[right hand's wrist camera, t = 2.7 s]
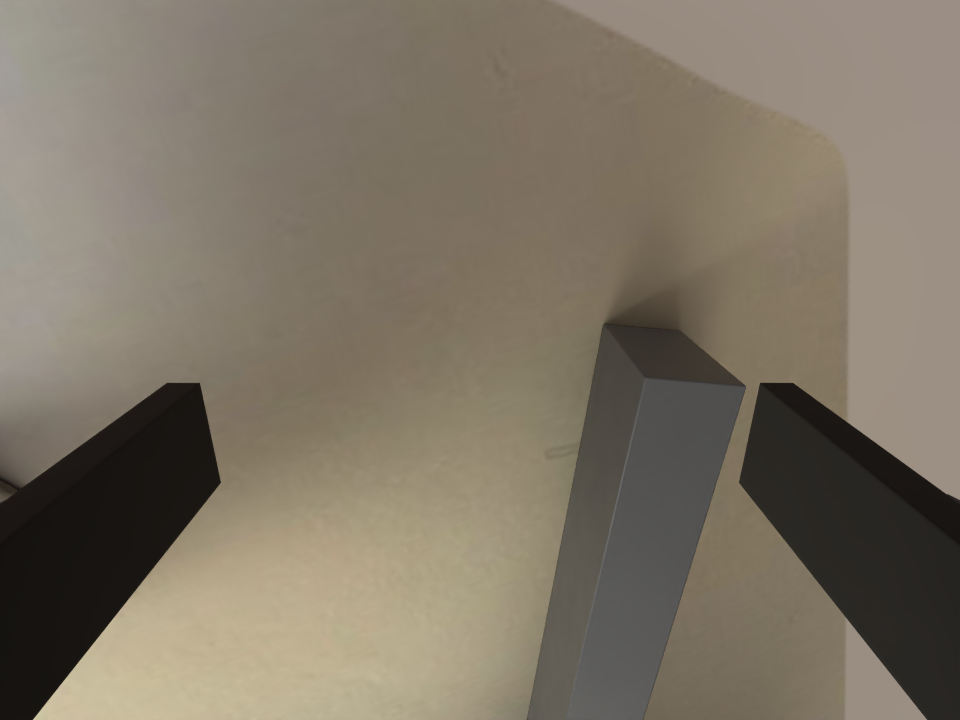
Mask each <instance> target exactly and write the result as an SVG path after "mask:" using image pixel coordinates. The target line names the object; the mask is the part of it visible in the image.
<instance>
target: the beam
mask: <svg viewBox="0 0 960 720" xmlns="http://www.w3.org/2000/svg"><path fill="white" fill-rule="evenodd" d="M745 389H746V386H745V385H744V384H743V383H742V382H740V381H739V380H738V379H737V378H736V377H734V376H733V375H732V374H731V373H730V372H729V371H727V370H726V369H725V368H724V367H723V366H721V365H720V364H719V363H718V362H717V361H715V360H714V359H713V358H712V357H711V356H710V355H708V354H707V353H706V352H705V351H704V350H702V349H701V348H700V347H699V346H698V345H696V344H695V343H694V342H693V341H692V340H691V339H689V338H688V337H687V336H686V335H685V334H683V333H682V332H681V331H675V330H665V329H654V328H643V327H633V326H622V325H612V324H604V325H603V330H602V335H601V340H600V345H599V351H598V356H597V361H596V366H595V371H594V376H593V382H592V387H591V392H590V397H589V402H588V407H587V413H586V418H585V423H584V428H583V433H582V438H581V444H580V449H579V454H578V459H577V464H576V469H575V475H574V480H573V485H572V490H571V495H570V500H569V506H568V511H567V516H566V521H565V526H564V531H563V537H562V542H561V547H560V552H559V557H558V562H557V568H556V573H555V578H554V583H553V588H552V593H551V599H550V604H549V609H548V614H547V619H546V624H545V630H544V635H543V640H542V645H541V650H540V655H539V661H538V666H537V671H536V676H535V681H534V686H533V692H532V697H531V702H530V707H529V712H528V717H527V720H643V719H644V715H645V712H646V709H647V706H648V703H649V699H650V696H651V693H652V690H653V686H654V683H655V680H656V677H657V673H658V670H659V667H660V664H661V661H662V657H663V654H664V651H665V648H666V644H667V641H668V638H669V635H670V631H671V628H672V625H673V622H674V618H675V615H676V612H677V609H678V606H679V602H680V599H681V596H682V593H683V589H684V586H685V583H686V580H687V576H688V573H689V570H690V567H691V564H692V560H693V557H694V554H695V551H696V547H697V544H698V541H699V538H700V534H701V531H702V528H703V525H704V522H705V518H706V515H707V512H708V509H709V505H710V502H711V499H712V496H713V492H714V489H715V486H716V483H717V479H718V476H719V473H720V470H721V467H722V463H723V460H724V457H725V454H726V450H727V447H728V444H729V441H730V437H731V434H732V431H733V428H734V425H735V421H736V418H737V415H738V412H739V408H740V405H741V402H742V399H743V395H744V392H745Z"/></svg>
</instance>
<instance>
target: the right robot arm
mask: <svg viewBox="0 0 960 720" xmlns="http://www.w3.org/2000/svg"><path fill="white" fill-rule="evenodd" d="M220 483H221V481H220V476H219V472H218V467H217V462H216V457H215V453H214V448H213V443H212V438H211V434H210V429H209V424H208V419H207V415H206V410H205V405H204V400H203V396H202V391H201V386H200V383H166V384H165V385H164V386H162V387H161V388H160V389H158V390H157V391H155V392H154V393H153V394H151V395H150V396H148V397H147V398H146V399H144V400H143V401H142V402H140V403H139V404H137V405H136V406H135V407H133V408H132V409H131V410H129V411H128V412H126V413H125V414H124V415H122V416H121V417H120V418H118V419H117V420H115V421H114V422H113V423H111V424H110V425H108V426H107V427H106V428H104V429H103V430H102V431H100V432H99V433H97V434H96V435H95V436H93V437H92V438H91V439H89V440H88V441H86V442H85V443H84V444H82V445H81V446H80V447H78V448H77V449H75V450H74V451H73V452H71V453H70V454H68V455H67V456H66V457H64V458H63V459H62V460H60V461H59V462H57V463H56V464H55V465H53V466H52V467H51V468H49V469H48V470H46V471H45V472H44V473H42V474H41V475H40V476H38V477H37V478H35V479H34V480H33V481H31V482H30V483H28V484H27V485H26V486H24V487H23V488H22V489H20V490H19V491H18V490H17V489H15V488H13V487H12V486H10V485H8V484H6V483H4V482H2V481H0V720H33V719H34V718H35V716H36V715H37V714H38V713H39V711H40V710H41V709H42V708H43V706H44V705H45V704H46V702H47V701H48V700H49V699H50V697H51V696H52V695H53V694H54V692H55V691H56V690H57V689H58V687H59V686H60V685H61V684H62V682H63V681H64V680H65V679H66V677H67V676H68V675H69V673H70V672H71V671H72V670H73V668H74V667H75V666H76V665H77V663H78V662H79V661H80V660H81V658H82V657H83V656H84V655H85V653H86V652H87V651H88V650H89V648H90V647H91V646H92V645H93V643H94V642H95V641H96V639H97V638H98V637H99V636H100V634H101V633H102V632H103V631H104V629H105V628H106V627H107V626H108V624H109V623H110V622H111V621H112V619H113V618H114V617H115V616H116V614H117V613H118V612H119V610H120V609H121V608H122V607H123V605H124V604H125V603H126V602H127V600H128V599H129V598H130V597H131V595H132V594H133V593H134V592H135V590H136V589H137V588H138V587H139V585H140V584H141V583H142V581H143V580H144V579H145V578H146V576H147V575H148V574H149V573H150V571H151V570H152V569H153V568H154V566H155V565H156V564H157V563H158V561H159V560H160V559H161V558H162V556H163V555H164V554H165V553H166V551H167V550H168V549H169V547H170V546H171V545H172V544H173V542H174V541H175V540H176V539H177V537H178V536H179V535H180V534H181V532H182V531H183V530H184V529H185V527H186V526H187V525H188V524H189V522H190V521H191V520H192V518H193V517H194V516H195V515H196V513H197V512H198V511H199V510H200V508H201V507H202V506H203V505H204V503H205V502H206V501H207V500H208V498H209V497H210V496H211V495H212V493H213V492H214V491H215V489H216V488H217V487H218V486H219V484H220ZM739 483H740V484H741V486H742V487H743V488H744V489H745V491H746V492H747V493H748V495H749V496H750V497H751V498H752V500H753V501H754V502H755V503H756V505H757V506H758V507H759V508H760V510H761V511H762V512H763V513H764V515H765V516H766V517H767V518H768V520H769V521H770V522H771V524H772V525H773V526H774V527H775V529H776V530H777V531H778V532H779V534H780V535H781V536H782V537H783V539H784V540H785V541H786V542H787V544H788V545H789V546H790V547H791V549H792V550H793V551H794V553H795V554H796V555H797V556H798V558H799V559H800V560H801V561H802V563H803V564H804V565H805V566H806V568H807V569H808V570H809V571H810V573H811V574H812V575H813V576H814V578H815V579H816V580H817V581H818V583H819V584H820V585H821V587H822V588H823V589H824V590H825V592H826V593H827V594H828V595H829V597H830V598H831V599H832V600H833V602H834V603H835V604H836V605H837V607H838V608H839V609H840V610H841V612H842V613H843V614H844V616H845V617H846V618H847V619H848V621H849V622H850V623H851V624H852V626H853V627H854V628H855V629H856V631H857V632H858V633H859V634H860V636H861V637H862V638H863V639H864V641H865V642H866V643H867V645H868V646H869V647H870V648H871V649H872V651H873V652H874V653H875V655H876V656H877V657H878V658H879V660H880V661H881V662H882V663H883V665H884V666H885V667H886V668H887V670H888V671H889V672H890V673H891V675H892V676H893V677H894V678H895V680H896V681H897V682H898V684H899V685H900V686H901V687H902V689H903V690H904V691H905V692H906V694H907V695H908V696H909V697H910V699H911V700H912V701H913V702H914V704H915V705H916V706H917V708H918V709H919V710H920V711H921V713H922V714H923V715H924V716H925V718H926V719H927V720H960V500H958V499H956V498H954V497H952V496H950V495H948V494H945V493H944V492H942V491H941V490H940V489H938V488H937V487H936V486H934V485H933V484H931V483H930V482H929V481H927V480H926V479H925V478H923V477H922V476H920V475H919V474H918V473H916V472H915V471H914V470H912V469H911V468H909V467H908V466H907V465H905V464H904V463H903V462H901V461H900V460H898V459H897V458H896V457H894V456H893V455H892V454H890V453H889V452H887V451H886V450H885V449H883V448H882V447H880V446H879V445H878V444H876V443H875V442H874V441H872V440H871V439H869V438H868V437H867V436H865V435H864V434H863V433H861V432H860V431H858V430H857V429H856V428H854V427H853V426H851V425H850V424H849V423H847V422H846V421H845V420H843V419H842V418H840V417H839V416H838V415H836V414H835V413H834V412H832V411H831V410H829V409H828V408H827V407H825V406H824V405H823V404H821V403H820V402H818V401H817V400H816V399H814V398H813V397H812V396H810V395H809V394H807V393H806V392H805V391H803V390H802V389H800V388H799V387H798V386H796V385H795V384H794V383H760V386H759V391H758V396H757V400H756V405H755V410H754V415H753V419H752V424H751V429H750V434H749V438H748V443H747V448H746V453H745V457H744V462H743V467H742V472H741V476H740V481H739Z"/></svg>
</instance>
